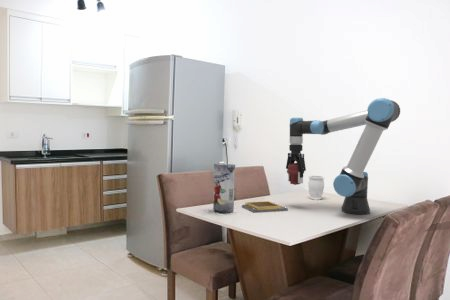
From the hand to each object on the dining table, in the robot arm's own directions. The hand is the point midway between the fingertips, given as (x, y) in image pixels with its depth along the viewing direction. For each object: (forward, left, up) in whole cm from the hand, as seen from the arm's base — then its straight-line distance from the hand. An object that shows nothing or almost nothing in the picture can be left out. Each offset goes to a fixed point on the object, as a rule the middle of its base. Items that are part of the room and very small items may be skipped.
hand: (295, 182), depth 217 cm
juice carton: (-1, +45, -15) cm, 48 cm away
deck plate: (0, +20, -15) cm, 25 cm away
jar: (+22, -31, -15) cm, 41 cm away
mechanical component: (0, 0, -1) cm, 1 cm away
